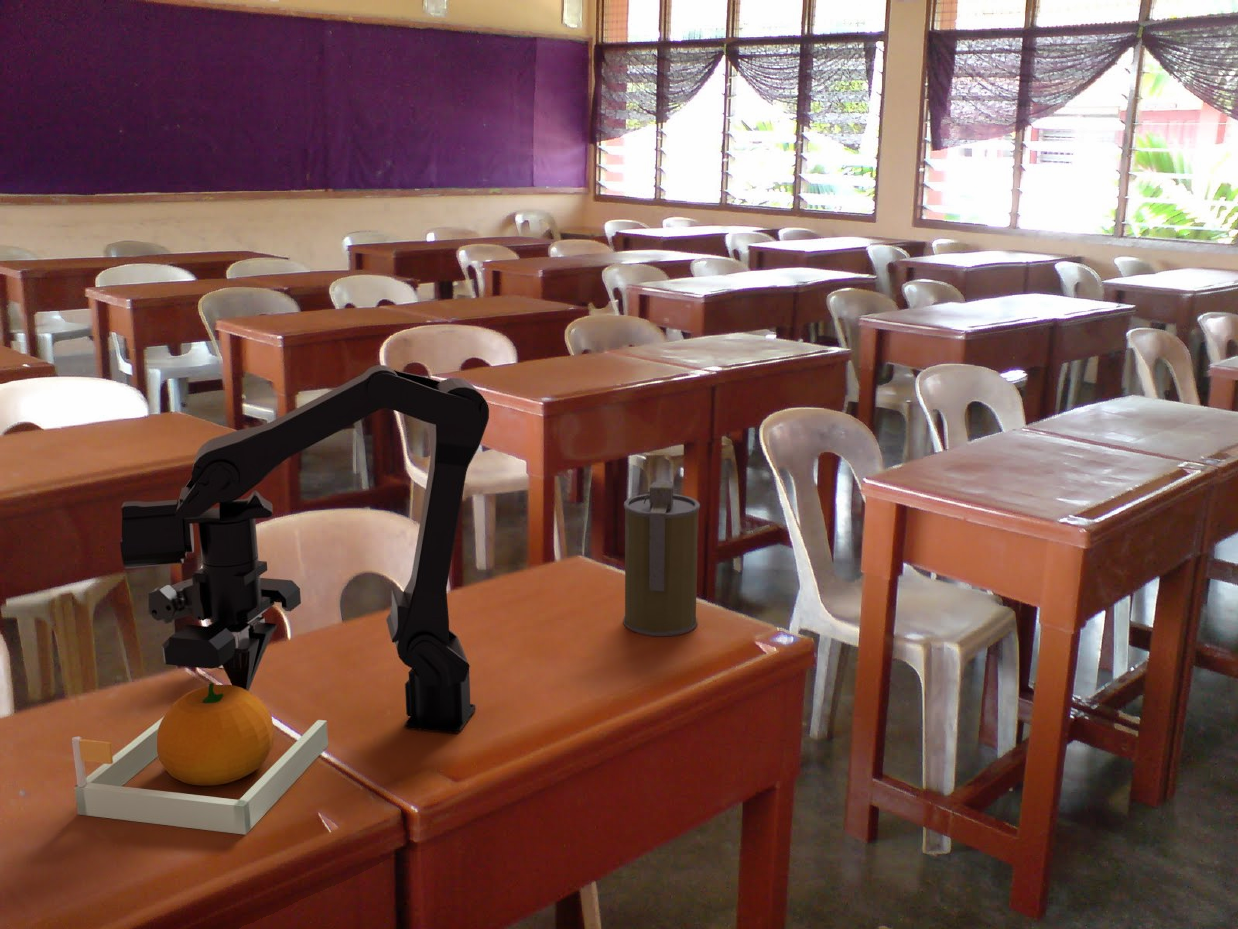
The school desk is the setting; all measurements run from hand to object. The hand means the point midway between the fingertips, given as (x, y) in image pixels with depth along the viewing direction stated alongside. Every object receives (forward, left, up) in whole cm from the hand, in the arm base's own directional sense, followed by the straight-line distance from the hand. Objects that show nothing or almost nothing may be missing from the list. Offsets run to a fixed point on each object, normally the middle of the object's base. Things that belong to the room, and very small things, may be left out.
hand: (242, 693), depth 127 cm
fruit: (0, +6, -6) cm, 8 cm away
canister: (-39, -44, -6) cm, 59 cm away
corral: (0, +8, -6) cm, 10 cm away
